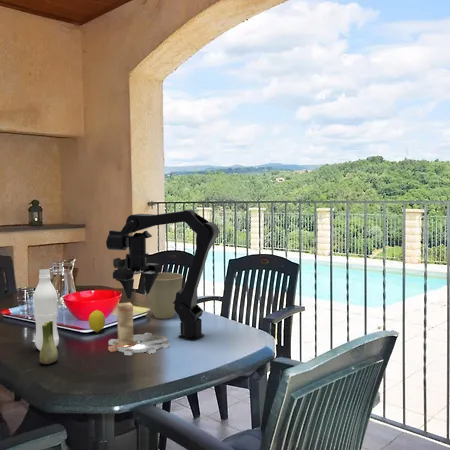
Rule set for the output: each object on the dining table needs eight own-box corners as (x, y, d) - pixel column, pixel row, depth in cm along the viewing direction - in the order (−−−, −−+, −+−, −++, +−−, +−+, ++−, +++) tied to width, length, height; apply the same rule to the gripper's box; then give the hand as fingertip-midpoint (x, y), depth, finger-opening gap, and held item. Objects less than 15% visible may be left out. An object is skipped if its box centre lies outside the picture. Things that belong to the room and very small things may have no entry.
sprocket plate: (180, 342, 170) (180, 338, 170) (141, 358, 154) (141, 354, 154) (137, 333, 181) (136, 329, 180) (95, 348, 165) (95, 343, 165)
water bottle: (63, 346, 167) (61, 268, 164) (49, 353, 160) (46, 272, 158) (45, 344, 169) (42, 267, 167) (29, 351, 162) (27, 271, 160)
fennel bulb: (51, 358, 155) (49, 318, 154) (62, 361, 153) (61, 320, 152) (35, 364, 150) (33, 323, 149) (47, 367, 148) (45, 325, 147)
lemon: (101, 335, 179) (100, 312, 178) (86, 334, 180) (85, 311, 179) (108, 330, 184) (107, 308, 183) (93, 329, 185) (92, 307, 184)
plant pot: (136, 318, 200) (135, 277, 199) (161, 310, 213) (160, 271, 212) (167, 323, 193) (167, 280, 191) (191, 314, 205) (190, 274, 204)
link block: (130, 340, 167) (129, 302, 166) (133, 344, 164) (132, 305, 163) (117, 342, 166) (116, 303, 165) (120, 346, 162) (119, 306, 161)
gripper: (138, 246, 191) (139, 288, 192) (100, 252, 175) (101, 298, 176) (162, 248, 184) (162, 292, 186) (124, 254, 169) (125, 302, 170)
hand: (138, 296), depth 180 cm, fingers open, 9 cm apart
